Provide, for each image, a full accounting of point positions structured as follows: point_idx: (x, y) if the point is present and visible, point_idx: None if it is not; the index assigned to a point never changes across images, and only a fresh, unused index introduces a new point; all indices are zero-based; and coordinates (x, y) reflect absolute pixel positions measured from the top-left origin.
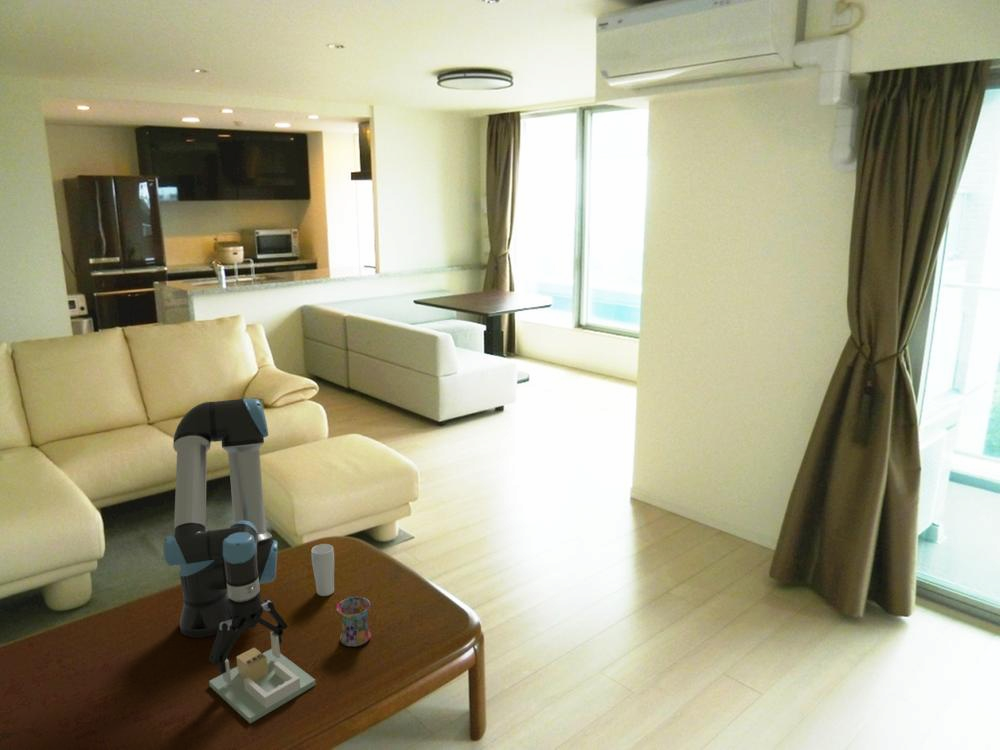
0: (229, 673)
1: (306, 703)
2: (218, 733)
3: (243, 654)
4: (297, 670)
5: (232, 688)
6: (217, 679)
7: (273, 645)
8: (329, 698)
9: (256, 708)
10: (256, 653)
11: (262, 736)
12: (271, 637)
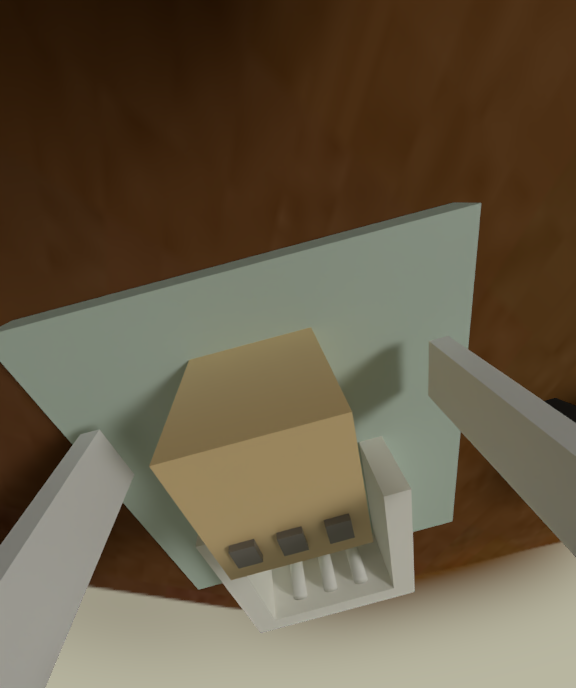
0: (95, 555)
1: None
2: (97, 568)
3: (224, 466)
4: (441, 461)
5: (146, 456)
6: (45, 350)
7: (490, 422)
8: (429, 548)
9: None
10: (331, 490)
11: (225, 597)
12: (567, 469)
